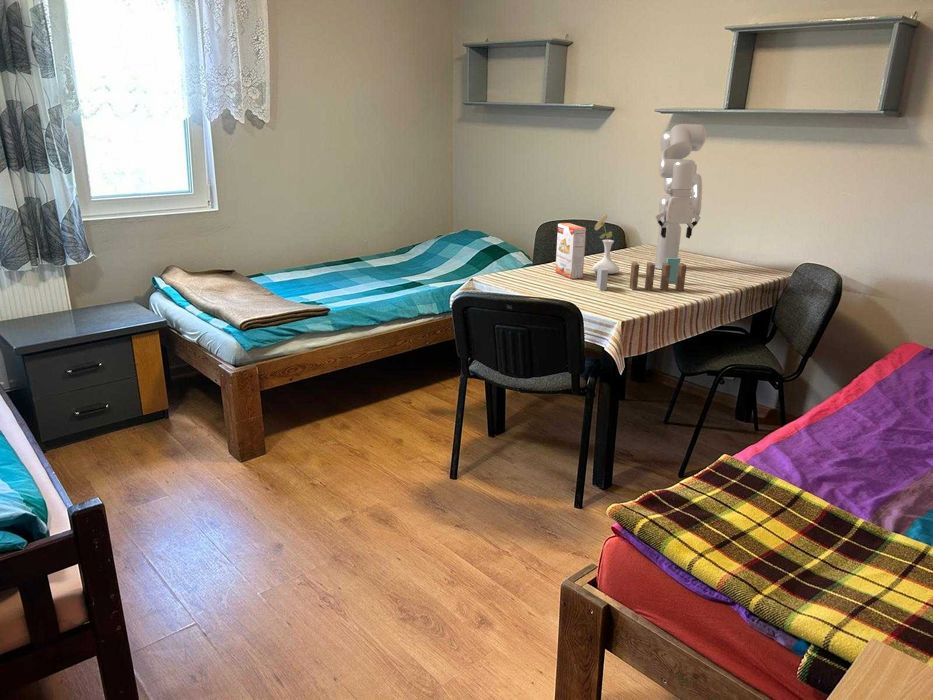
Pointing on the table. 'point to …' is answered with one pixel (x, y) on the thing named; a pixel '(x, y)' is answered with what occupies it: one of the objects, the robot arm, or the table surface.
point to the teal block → (673, 268)
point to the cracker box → (570, 250)
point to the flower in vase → (606, 249)
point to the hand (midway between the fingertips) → (675, 237)
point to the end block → (602, 277)
